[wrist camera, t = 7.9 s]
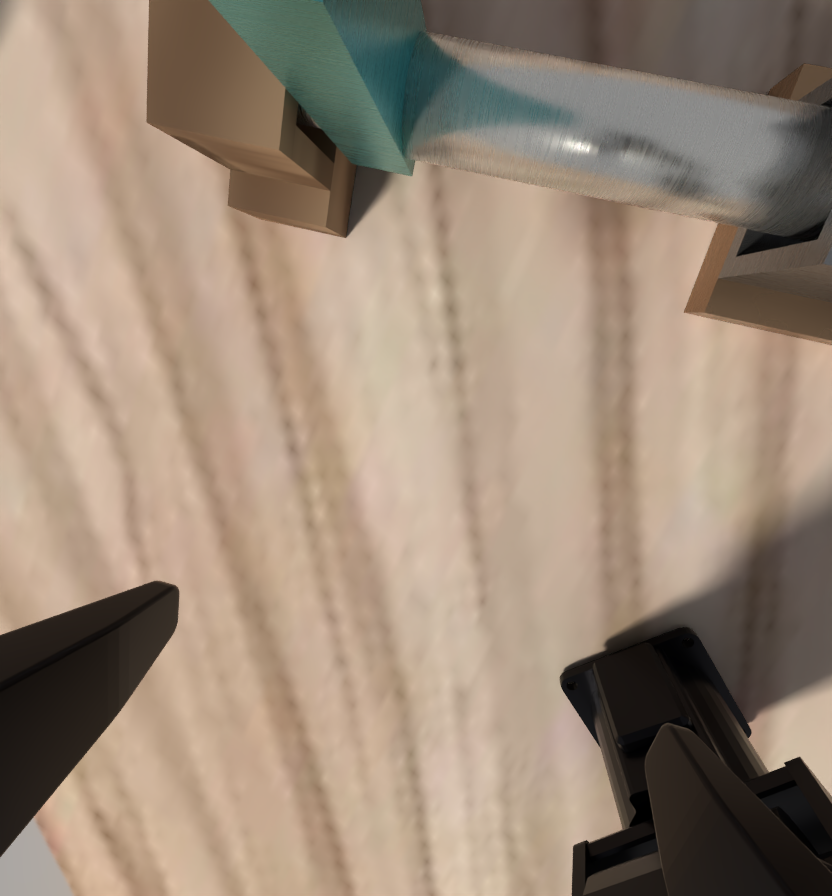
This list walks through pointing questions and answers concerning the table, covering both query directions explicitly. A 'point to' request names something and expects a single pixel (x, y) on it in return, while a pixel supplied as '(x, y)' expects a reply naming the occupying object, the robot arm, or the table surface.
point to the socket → (242, 120)
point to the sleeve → (772, 258)
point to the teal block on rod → (542, 116)
